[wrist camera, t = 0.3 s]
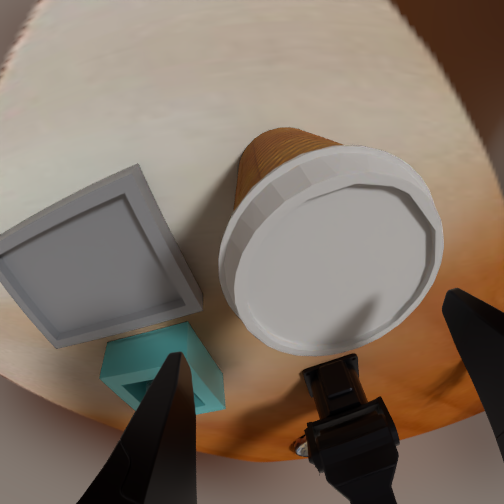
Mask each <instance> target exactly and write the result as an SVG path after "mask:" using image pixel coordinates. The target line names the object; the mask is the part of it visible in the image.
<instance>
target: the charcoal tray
mask: <svg viewBox="0 0 504 504" xmlns="http://www.w3.org/2000/svg"><path fill="white" fill-rule="evenodd" d="M0 282H1V283H2V285H3V286H4V288H5V289H6V290H7V292H8V293H9V294H10V295H11V297H12V298H13V299H14V301H15V302H16V303H17V304H18V306H19V307H20V308H21V309H22V311H23V312H24V313H25V314H26V315H27V317H28V318H29V319H30V320H31V321H32V323H33V324H34V325H35V326H36V327H37V328H38V329H39V331H40V332H41V333H42V334H43V335H44V336H45V337H46V338H47V339H48V341H49V342H50V343H51V344H52V345H53V346H54V347H55V348H56V349H58V348H63V347H67V346H71V345H75V344H79V343H84V342H88V341H92V340H96V339H100V338H104V337H108V336H112V335H116V334H119V333H123V332H127V331H131V330H135V329H139V328H142V327H146V326H150V325H154V324H157V323H161V322H165V321H168V320H172V319H175V318H179V317H183V316H186V315H190V314H193V313H197V312H200V311H203V293H202V292H201V290H200V288H199V286H198V284H197V282H196V280H195V278H194V276H193V275H192V273H191V271H190V269H189V267H188V265H187V263H186V261H185V259H184V257H183V255H182V253H181V251H180V249H179V247H178V245H177V243H176V241H175V239H174V237H173V235H172V233H171V231H170V229H169V227H168V225H167V223H166V221H165V219H164V217H163V215H162V213H161V211H160V209H159V207H158V205H157V203H156V201H155V198H154V196H153V194H152V192H151V190H150V188H149V186H148V184H147V181H146V179H145V177H144V175H143V173H142V171H141V168H140V166H139V164H136V165H133V166H131V167H129V168H126V169H124V170H122V171H120V172H117V173H115V174H113V175H111V176H109V177H107V178H104V179H102V180H100V181H98V182H96V183H94V184H92V185H90V186H88V187H86V188H84V189H82V190H80V191H78V192H76V193H74V194H72V195H70V196H68V197H66V198H64V199H62V200H60V201H58V202H56V203H54V204H53V205H51V206H49V207H47V208H45V209H43V210H42V211H40V212H38V213H36V214H34V215H33V216H31V217H29V218H27V219H26V220H24V221H22V222H21V223H19V224H17V225H16V226H14V227H12V228H11V229H9V230H7V231H6V232H4V233H2V234H1V235H0Z"/></svg>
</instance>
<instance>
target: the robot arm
mask: <svg viewBox="0 0 504 504" xmlns="http://www.w3.org/2000/svg"><path fill="white" fill-rule="evenodd" d="M442 313H443V316H444V318H445V320H446V323H447V325H448V328H449V330H450V333H451V335H452V338H453V340H454V343H455V345H456V348H457V350H458V352H459V354H460V356H461V358H462V360H463V362H464V365H465V367H466V369H467V371H468V373H469V375H470V377H471V379H472V382H473V384H474V386H475V388H476V391H477V393H478V395H479V397H480V400H481V402H482V405H483V407H484V409H485V412H486V414H487V416H488V419H489V422H490V424H491V427H492V429H493V432H494V435H495V437H496V441H497V443H498V446H499V449H500V452H501V455H502V458H503V461H504V313H503V312H502V311H500V310H498V309H496V308H494V307H493V306H491V305H489V304H487V303H485V302H484V301H482V300H480V299H478V298H476V297H474V296H472V295H471V294H469V293H467V292H465V291H463V290H461V289H459V288H454V289H451V290H448V291H447V293H446V296H445V299H444V303H443V306H442ZM303 375H304V378H305V381H306V384H307V387H308V390H309V393H310V396H311V397H314V400H315V403H316V407H317V411H318V414H319V418H320V420H317V421H314V422H309V423H307V428H306V429H305V430H304V431H305V435H306V440H307V447H308V459H309V462H310V463H312V464H314V465H315V467H316V468H317V469H318V471H319V473H323V472H324V473H325V476H326V480H327V481H328V483H329V484H330V485H331V486H332V487H334V488H335V489H336V490H337V491H338V492H339V493H341V494H342V495H343V496H344V497H345V498H347V499H348V500H349V501H350V503H351V504H397V502H396V500H395V496H394V493H393V490H392V487H391V485H392V481H393V477H394V473H395V469H396V465H397V461H398V457H399V455H398V451H397V449H396V446H398V445H399V444H400V442H399V437H398V433H397V430H396V427H395V424H394V422H393V420H392V418H391V416H390V414H389V412H388V410H387V408H386V406H385V404H384V402H383V400H382V398H381V396H380V397H378V398H376V399H375V400H372V401H370V402H368V401H367V398H366V396H365V393H364V390H363V388H362V385H361V383H360V380H359V370H358V357H357V355H356V354H351V355H348V356H346V357H343V358H340V359H337V360H334V361H331V362H328V363H325V364H322V365H319V366H316V367H312V368H309V369H306V370H304V371H303ZM196 494H197V493H196V412H195V402H194V393H193V384H192V374H191V369H190V366H189V364H188V362H187V360H186V358H185V356H184V354H183V353H182V352H172V353H169V354H168V356H167V358H166V359H165V361H164V363H163V364H162V366H161V368H160V370H159V371H158V373H157V375H156V376H155V378H154V380H153V382H152V383H151V385H150V387H149V389H148V390H147V392H146V394H145V396H144V397H143V399H142V401H141V403H140V404H139V406H138V408H137V410H136V411H135V413H134V415H133V417H132V418H131V420H130V422H129V424H128V425H127V427H126V429H125V431H124V433H123V434H122V436H121V438H120V440H119V441H118V443H117V445H116V447H115V448H114V450H113V452H112V453H111V455H110V457H109V459H108V460H107V462H106V463H105V465H104V466H103V468H102V469H101V471H100V472H99V474H98V475H97V476H96V478H95V479H94V481H93V482H92V483H91V485H90V486H89V487H88V489H87V490H86V492H85V493H84V494H83V496H82V497H81V498H80V500H79V501H78V502H77V503H76V504H197V495H196Z"/></svg>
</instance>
